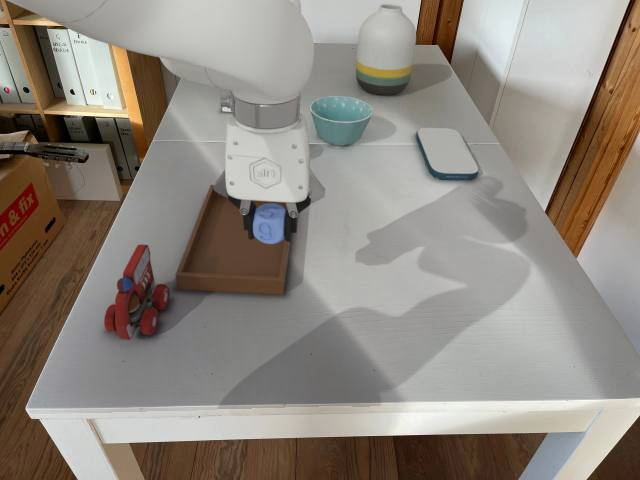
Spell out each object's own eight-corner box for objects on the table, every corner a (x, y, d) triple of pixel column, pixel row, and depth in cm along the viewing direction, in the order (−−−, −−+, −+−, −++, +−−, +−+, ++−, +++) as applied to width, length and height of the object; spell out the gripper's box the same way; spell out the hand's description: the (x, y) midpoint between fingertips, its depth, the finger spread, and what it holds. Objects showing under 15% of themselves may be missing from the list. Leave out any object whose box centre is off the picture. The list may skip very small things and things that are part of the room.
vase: (355, 77, 162) (361, -3, 147) (407, 80, 161) (419, 0, 146) (353, 97, 149) (359, 12, 134) (409, 101, 148) (422, 16, 133)
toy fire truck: (102, 346, 73) (83, 295, 67) (133, 287, 83) (120, 239, 76) (148, 350, 73) (134, 300, 66) (174, 291, 82) (164, 242, 76)
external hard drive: (413, 134, 131) (414, 127, 130) (456, 134, 132) (457, 128, 131) (431, 181, 113) (432, 173, 112) (480, 182, 113) (483, 174, 112)
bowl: (366, 125, 134) (369, 96, 129) (373, 153, 122) (376, 122, 117) (308, 124, 134) (309, 94, 129) (309, 152, 121) (310, 120, 116)
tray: (283, 294, 83) (283, 280, 81) (178, 289, 83) (175, 275, 81) (295, 202, 104) (295, 188, 102) (212, 198, 104) (210, 184, 102)
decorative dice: (288, 228, 69) (287, 204, 67) (283, 245, 66) (282, 221, 64) (259, 225, 69) (258, 201, 67) (253, 242, 66) (252, 218, 64)
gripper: (184, 117, 53) (203, 248, 65) (340, 126, 53) (331, 256, 65) (201, 90, 59) (215, 215, 71) (341, 98, 59) (333, 222, 70)
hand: (270, 233), depth 67 cm, fingers closed on decorative dice, 4 cm apart
